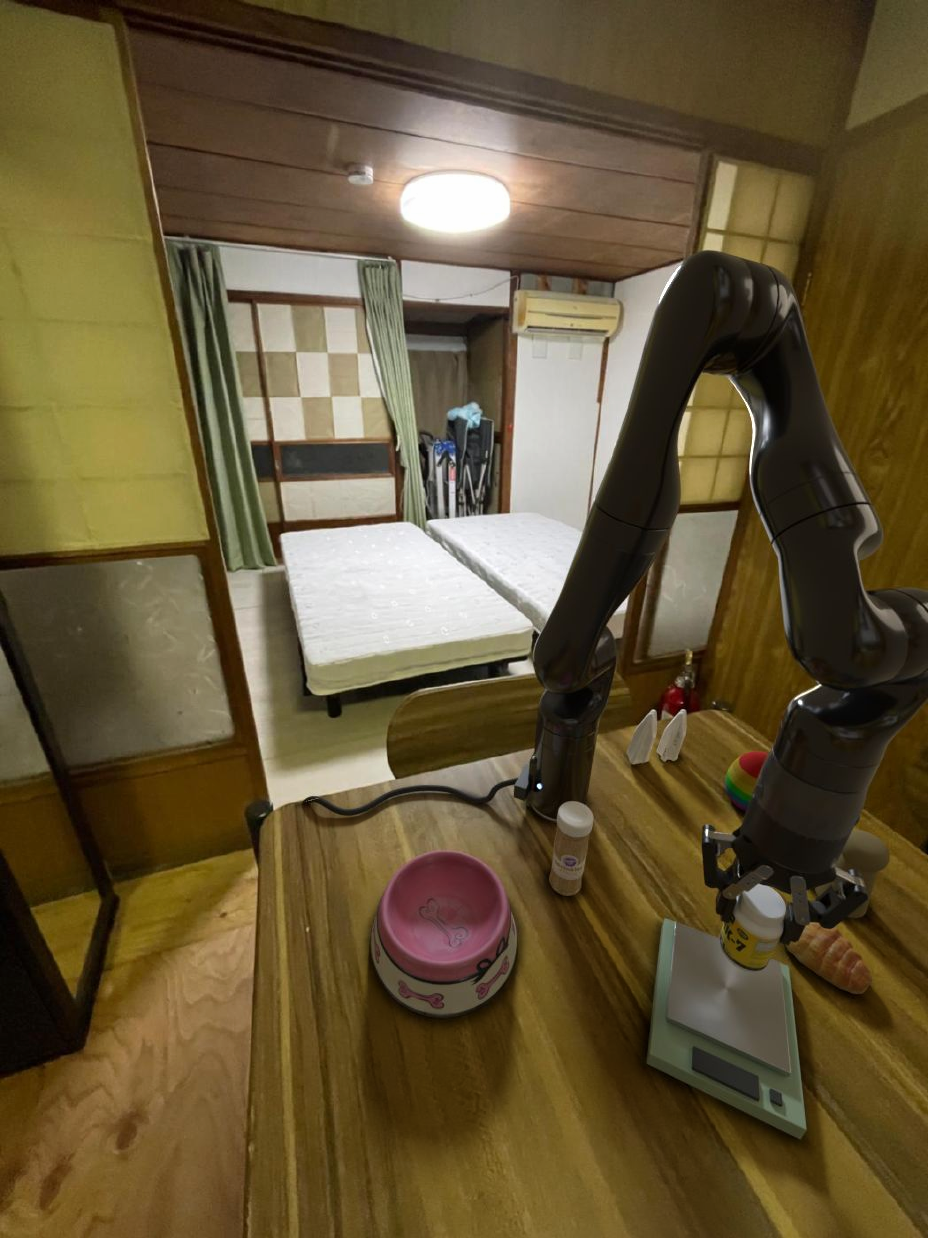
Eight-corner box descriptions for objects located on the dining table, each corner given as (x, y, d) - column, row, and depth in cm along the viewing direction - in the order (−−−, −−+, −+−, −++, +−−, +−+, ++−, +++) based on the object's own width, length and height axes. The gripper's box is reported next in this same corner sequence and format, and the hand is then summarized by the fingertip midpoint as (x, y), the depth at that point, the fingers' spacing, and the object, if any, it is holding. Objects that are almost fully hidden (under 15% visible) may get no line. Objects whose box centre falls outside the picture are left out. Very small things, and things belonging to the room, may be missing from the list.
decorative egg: (726, 776, 91) (740, 732, 87) (778, 797, 87) (796, 751, 83) (716, 805, 85) (730, 758, 81) (771, 828, 81) (789, 781, 77)
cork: (875, 922, 67) (908, 865, 63) (825, 913, 68) (853, 856, 64) (853, 882, 73) (883, 826, 68) (807, 874, 74) (832, 818, 69)
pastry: (877, 977, 61) (890, 958, 60) (849, 1010, 58) (861, 991, 56) (798, 913, 68) (807, 894, 67) (769, 939, 65) (777, 920, 64)
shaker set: (630, 772, 92) (640, 722, 87) (617, 757, 95) (626, 708, 91) (686, 759, 95) (699, 711, 90) (671, 745, 99) (683, 697, 94)
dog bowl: (448, 849, 77) (448, 816, 74) (547, 938, 65) (552, 903, 62) (341, 934, 65) (336, 898, 62) (439, 1061, 53) (439, 1025, 50)
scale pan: (665, 1021, 55) (667, 1016, 55) (674, 925, 64) (675, 921, 64) (788, 1077, 51) (791, 1073, 50) (778, 966, 60) (780, 962, 60)
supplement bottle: (709, 930, 56) (727, 879, 53) (750, 927, 57) (771, 875, 53) (733, 976, 52) (755, 924, 48) (777, 973, 52) (802, 920, 49)
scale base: (646, 1064, 53) (650, 1051, 52) (661, 927, 66) (665, 915, 65) (800, 1140, 48) (808, 1128, 47) (784, 976, 61) (790, 963, 60)
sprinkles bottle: (552, 898, 70) (562, 827, 64) (546, 868, 74) (554, 799, 68) (585, 897, 70) (598, 826, 64) (577, 867, 74) (588, 799, 68)
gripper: (890, 799, 45) (828, 921, 53) (714, 753, 51) (680, 870, 58) (917, 866, 39) (841, 994, 47) (713, 805, 44) (675, 929, 52)
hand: (752, 924), depth 52 cm, fingers closed on supplement bottle, 4 cm apart
